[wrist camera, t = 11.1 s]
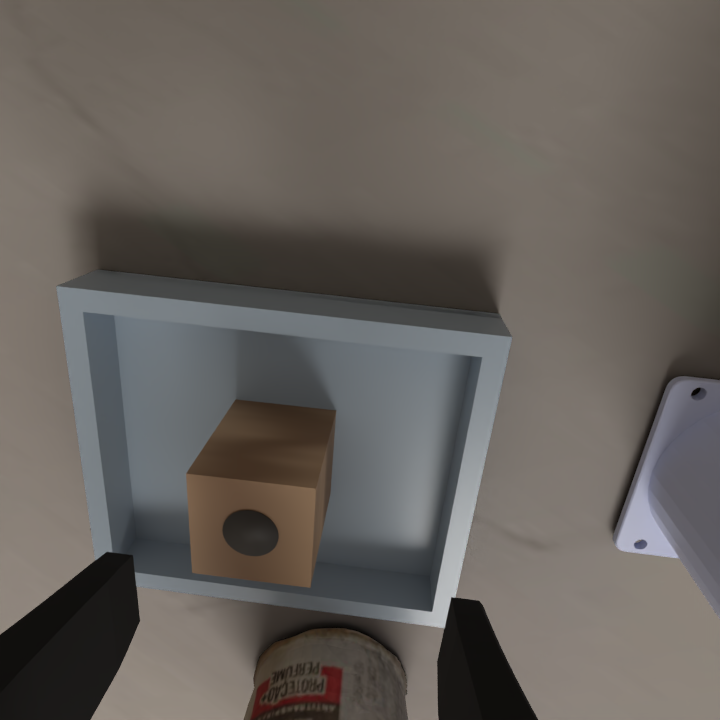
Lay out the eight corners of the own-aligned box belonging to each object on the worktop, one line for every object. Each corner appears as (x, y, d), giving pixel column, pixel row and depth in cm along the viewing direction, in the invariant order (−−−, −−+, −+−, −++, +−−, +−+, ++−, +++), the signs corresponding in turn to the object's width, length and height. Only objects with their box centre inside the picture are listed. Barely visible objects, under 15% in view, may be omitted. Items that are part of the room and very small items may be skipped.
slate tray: (499, 313, 19) (512, 337, 16) (444, 581, 24) (448, 628, 22) (97, 269, 19) (56, 286, 17) (127, 540, 24) (98, 581, 22)
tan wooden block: (336, 410, 20) (316, 489, 16) (330, 494, 22) (310, 588, 17) (235, 399, 20) (185, 474, 16) (236, 483, 22) (191, 574, 17)
